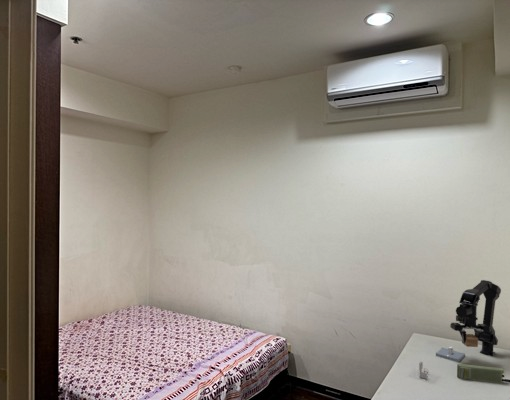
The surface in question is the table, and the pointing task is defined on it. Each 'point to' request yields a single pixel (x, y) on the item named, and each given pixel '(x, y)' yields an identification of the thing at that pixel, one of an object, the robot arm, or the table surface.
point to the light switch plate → (450, 354)
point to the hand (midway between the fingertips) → (469, 342)
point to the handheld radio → (480, 373)
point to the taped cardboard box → (471, 340)
